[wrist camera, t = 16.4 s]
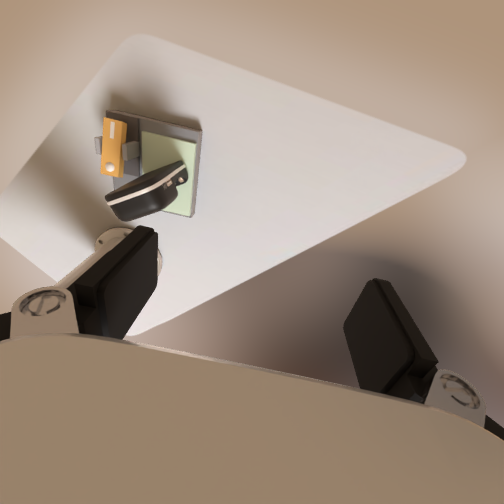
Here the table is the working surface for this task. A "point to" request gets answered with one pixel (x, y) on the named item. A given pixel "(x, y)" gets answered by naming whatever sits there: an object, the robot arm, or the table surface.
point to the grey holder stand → (159, 154)
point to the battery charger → (148, 192)
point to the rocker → (113, 147)
